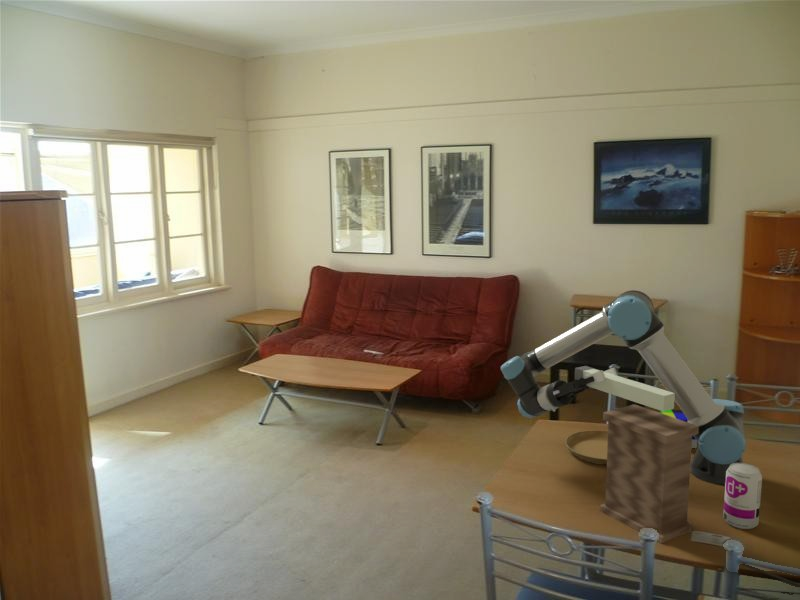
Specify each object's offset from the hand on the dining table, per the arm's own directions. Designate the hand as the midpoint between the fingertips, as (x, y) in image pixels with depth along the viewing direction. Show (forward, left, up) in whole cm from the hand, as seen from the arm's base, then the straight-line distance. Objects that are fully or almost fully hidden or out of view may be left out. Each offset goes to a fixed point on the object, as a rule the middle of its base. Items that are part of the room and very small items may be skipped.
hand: (609, 373), depth 182 cm
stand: (-10, +10, -37) cm, 39 cm away
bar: (-3, +3, -5) cm, 6 cm away
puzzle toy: (-26, -48, -37) cm, 66 cm away
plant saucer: (-1, -34, -37) cm, 51 cm away
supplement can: (-34, +6, -37) cm, 50 cm away
